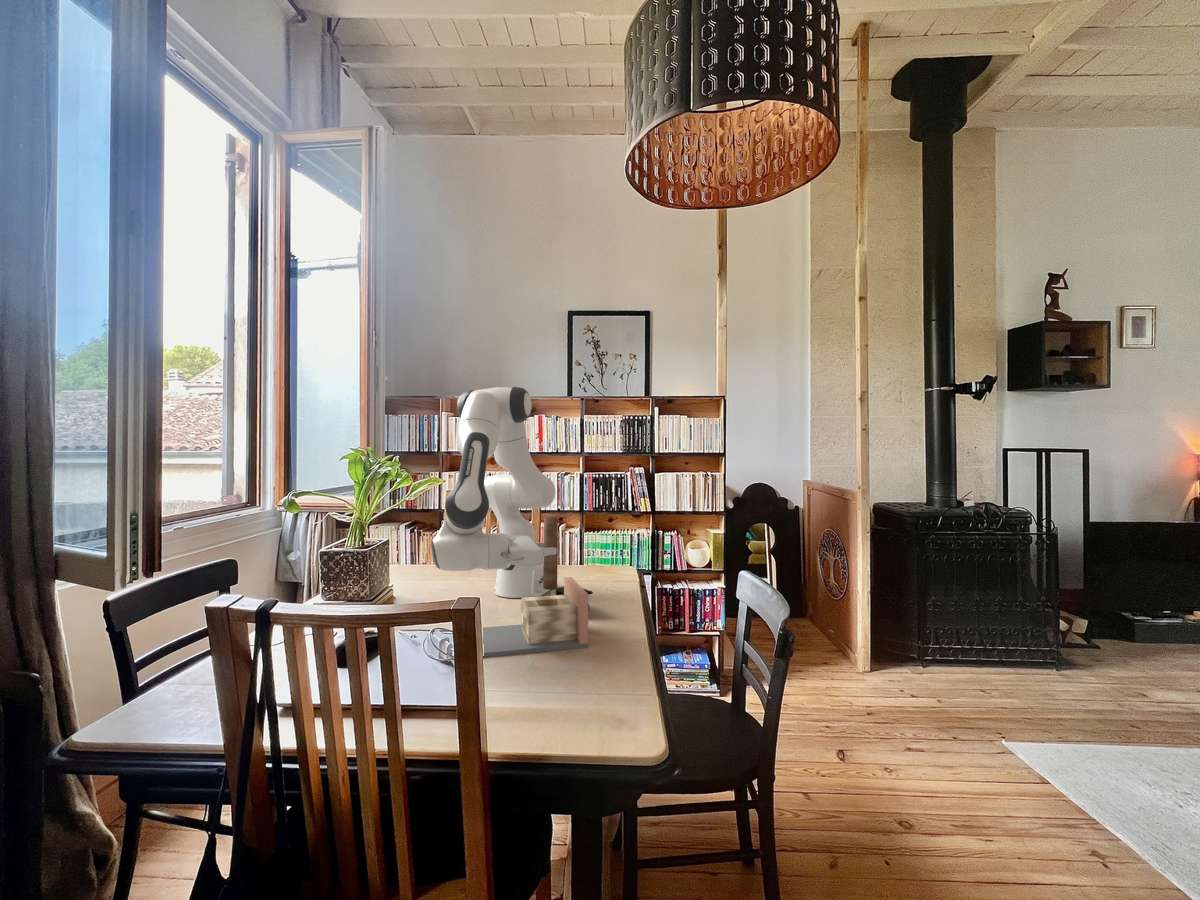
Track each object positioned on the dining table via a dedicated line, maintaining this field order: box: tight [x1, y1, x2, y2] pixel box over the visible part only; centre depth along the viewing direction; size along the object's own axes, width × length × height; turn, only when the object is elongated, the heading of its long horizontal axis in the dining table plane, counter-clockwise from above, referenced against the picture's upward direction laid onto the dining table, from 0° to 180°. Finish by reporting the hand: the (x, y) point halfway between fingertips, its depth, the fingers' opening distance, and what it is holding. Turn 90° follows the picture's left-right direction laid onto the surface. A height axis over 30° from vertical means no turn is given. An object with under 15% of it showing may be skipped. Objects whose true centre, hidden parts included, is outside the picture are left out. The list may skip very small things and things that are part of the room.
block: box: [520, 595, 577, 644], centre depth 145 cm, size 12×12×8 cm
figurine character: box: [550, 586, 594, 613], centre depth 168 cm, size 7×8×15 cm
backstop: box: [482, 576, 589, 658], centre depth 143 cm, size 27×18×13 cm, turn 106°
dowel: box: [542, 516, 559, 591], centre depth 145 cm, size 4×4×18 cm
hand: (554, 548), depth 145 cm, fingers closed on dowel, 4 cm apart
